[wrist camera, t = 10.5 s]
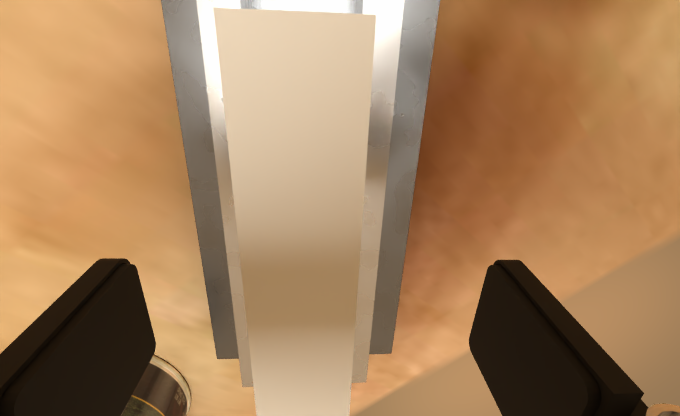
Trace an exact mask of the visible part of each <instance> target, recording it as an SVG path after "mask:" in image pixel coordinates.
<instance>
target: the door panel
mask: <svg viewBox="0 0 680 416" xmlns="http://www.w3.org/2000/svg"><path fill="white" fill-rule="evenodd" d="M213 10H214V19H215V28H216V38H217V47H218V57H219V66H220V76H221V85H222V94H223V104H224V113H225V123H226V132H227V141H228V151H229V160H230V170H231V179H232V189H233V198H234V207H235V217H236V226H237V236H238V245H239V255H240V264H241V273H242V283H243V292H244V302H245V311H246V320H247V330H248V339H249V349H250V358H251V368H252V377H253V386H254V396H255V405H256V415H257V416H349V413H350V398H351V383H352V368H353V353H354V339H355V324H356V309H357V294H358V280H359V265H360V250H361V235H362V221H363V206H364V191H365V176H366V161H367V147H368V132H369V117H370V102H371V88H372V73H373V58H374V43H375V29H376V15H375V14H353V13H330V12H308V11H285V10H263V9H240V8H217V7H213Z"/></svg>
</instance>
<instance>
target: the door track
mask: <svg viewBox="0 0 680 416" xmlns="http://www.w3.org/2000/svg"><path fill="white" fill-rule="evenodd" d="M161 3H162V10H163V16H164V22H165V29H166V35H167V42H168V48H169V54H170V61H171V67H172V74H173V80H174V86H175V93H176V99H177V106H178V112H179V118H180V125H181V131H182V137H183V144H184V150H185V157H186V163H187V169H188V176H189V182H190V189H191V195H192V201H193V208H194V214H195V221H196V227H197V233H198V240H199V246H200V253H201V259H202V265H203V272H204V278H205V285H206V291H207V297H208V304H209V310H210V317H211V323H212V329H213V336H214V342H215V348H216V355H217V359H237V358H239V362H240V371H241V379H242V387H254V386H253V377H252V368H251V358H250V349H249V339H248V330H247V320H246V311H245V302H244V292H243V283H242V273H241V264H240V255H239V245H238V236H237V226H236V217H235V207H234V198H233V189H232V179H231V170H230V160H229V151H228V141H227V132H226V123H225V113H224V104H223V94H222V85H221V76H220V66H219V57H218V47H217V38H216V28H215V19H214V10H213V7H217V8H240V9H263V10H285V11H308V12H330V13H353V14H375V15H376V29H375V43H374V58H373V73H372V88H371V102H370V117H369V132H368V147H367V161H366V176H365V191H364V206H363V221H362V235H361V250H360V265H359V280H358V294H357V309H356V324H355V339H354V353H353V368H352V383H362V382H366V380H367V370H368V360H369V354H391V353H392V346H393V339H394V331H395V324H396V317H397V310H398V302H399V295H400V288H401V281H402V273H403V266H404V259H405V252H406V244H407V237H408V230H409V222H410V215H411V208H412V201H413V193H414V186H415V179H416V172H417V164H418V157H419V150H420V143H421V135H422V128H423V121H424V113H425V106H426V99H427V92H428V84H429V77H430V70H431V63H432V55H433V48H434V41H435V34H436V26H437V19H438V12H439V4H440V0H161Z"/></svg>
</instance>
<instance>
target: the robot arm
mask: <svg viewBox="0 0 680 416" xmlns="http://www.w3.org/2000/svg"><path fill="white" fill-rule="evenodd" d="M469 346H470V350H471V353H472V355H473V357H474V359H475V361H476V363H477V364H478V367H479V369H480V371H481V373H482V375H483V376H484V379H485V381H486V383H487V385H488V387H489V389H490V391H491V393H492V395H493V397H494V399H495V401H496V404H497V406H498V408H499V410H500V412H501V414H502V416H680V407H679V406H677V405H670V404H665V403H662V404H654V405H652V406H651V407H650V408H648V407H647V406H646V405H645V403H644V402H643V401H642V400H641V397H642V396H643V394H644V393H643V392H642V391H641V390H640V388H639V387H637V385H636V384H635V383H634V382H633V381H632V380H631V379H630V378H629V377H628V375H627V374H626V373H624V371H623V370H622V369H621V368H620V367H619V366H618V365H617V364H616V363H615V361H614V360H613V359H612V358H611V357H610V356H609V355H608V354H607V353H606V352H605V351H604V350H603V349H602V347H601V346H600V345H598V343H597V342H596V341H595V340H594V339H593V338H592V337H591V336H590V335H589V333H588V332H587V331H586V330H585V329H584V328H583V327H582V326H581V325H580V324H579V323H578V322H577V321H576V319H575V318H573V316H572V315H571V314H570V313H569V312H568V311H567V310H566V309H565V308H564V307H563V306H562V304H561V303H560V302H559V301H558V300H557V299H556V298H555V297H554V296H553V295H552V294H551V293H550V292H549V290H548V289H547V288H546V287H545V286H544V285H543V284H542V283H541V282H540V281H539V280H538V279H537V278H536V276H535V275H534V274H533V273H532V272H531V271H530V270H529V269H528V268H527V267H526V266H525V265H524V264H523V263H522V262H521V261H520V260H497V261H495V263H494V264H493V265H491V266H489V267H488V269H487V273H486V276H485V280H484V284H483V288H482V292H481V295H480V299H479V303H478V307H477V310H476V314H475V318H474V322H473V326H472V329H471V333H470V337H469ZM155 347H156V342H155V337H154V333H153V330H152V326H151V322H150V318H149V314H148V310H147V306H146V302H145V298H144V295H143V291H142V287H141V283H140V279H139V275H138V271H137V268H136V266H135V265H133V264H130V262H129V261H128V260H127V259H99V260H98V261H96V262H95V263H94V264H93V265H92V266H91V267H90V268H89V269H88V270H87V271H86V272H85V273H84V274H83V275H82V276H81V277H80V278H79V279H78V280H77V281H76V282H75V283H74V284H73V285H71V286H70V287H69V288H68V289H67V290H66V291H65V292H64V293H63V294H62V295H61V296H60V297H59V298H58V299H57V300H56V301H55V302H54V303H53V304H52V305H51V306H50V307H49V308H48V309H47V310H46V311H44V312H43V313H42V314H41V315H40V316H39V317H38V318H37V319H36V320H35V321H34V322H33V323H32V324H31V325H30V326H29V327H28V328H27V329H26V330H25V331H24V332H23V333H22V334H21V335H20V336H19V337H17V338H16V339H15V340H14V341H13V342H12V343H11V344H10V345H9V346H8V347H7V348H6V349H5V350H4V351H3V352H2V353H1V354H0V416H121V414H122V413H123V411H124V409H125V407H126V405H127V403H128V401H129V400H130V398H131V396H132V394H133V392H134V390H135V388H136V387H137V385H138V383H139V381H140V379H141V377H142V376H143V374H144V372H145V370H146V368H147V366H148V364H149V363H150V361H151V359H152V357H153V355H154V352H155Z"/></svg>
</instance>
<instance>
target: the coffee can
mask: <svg viewBox="0 0 680 416" xmlns="http://www.w3.org/2000/svg"><path fill="white" fill-rule="evenodd" d="M190 404H191V394H190V390H189V387H188V385H187V383H186V381H185V380H184V378H183V377H182V376H181V374H180V373H179V372H178V371H177V370H176V369H175V368H174V367H173V366H171V365H170V364H168V363H167V362H165V361H164V360H162V359H160V358H158V357H156V356H154V355H153V357H152V359H151V361H150V363H149V364H148V366H147V368H146V370H145V372H144V374H143V376H142V377H141V379H140V381H139V383H138V385H137V387H136V388H135V390H134V392H133V394H132V396H131V398H130V400H129V401H128V403H127V405H126V407H125V409H124V411H123V413H122V414H121V416H186V415H187V413H188V411H189V408H190Z"/></svg>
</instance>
